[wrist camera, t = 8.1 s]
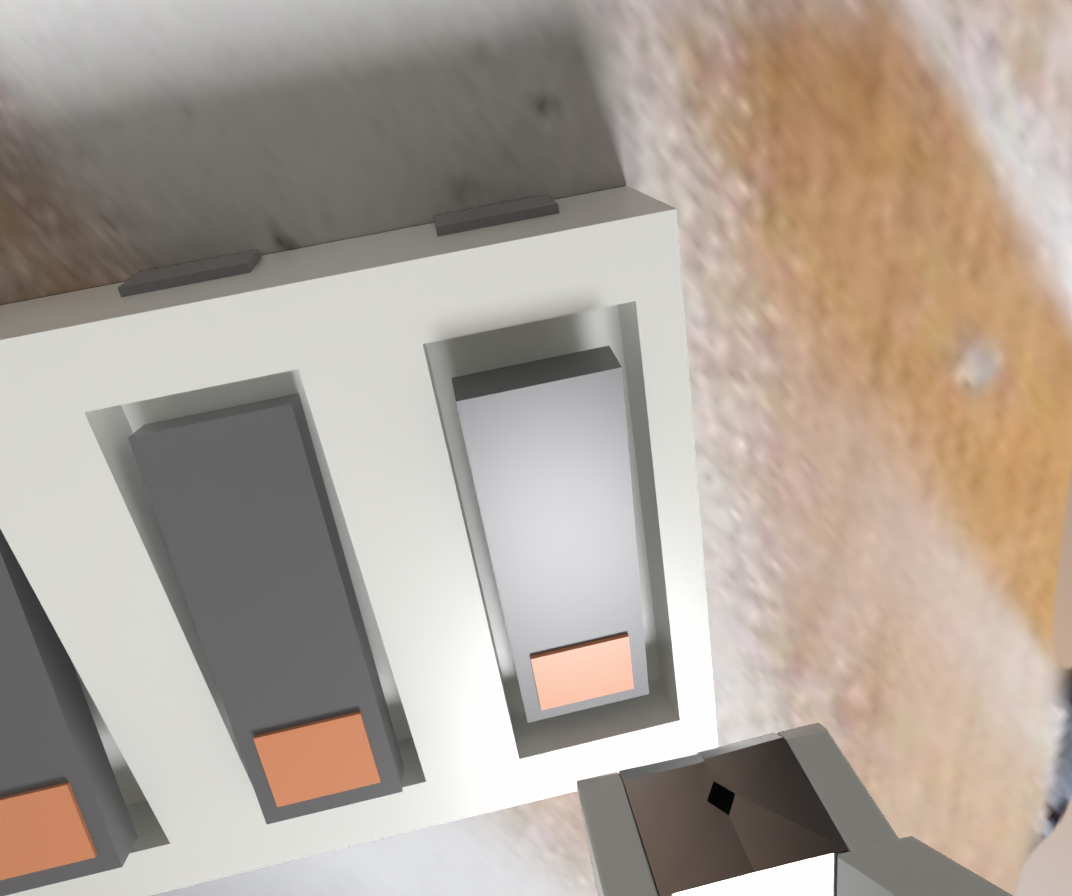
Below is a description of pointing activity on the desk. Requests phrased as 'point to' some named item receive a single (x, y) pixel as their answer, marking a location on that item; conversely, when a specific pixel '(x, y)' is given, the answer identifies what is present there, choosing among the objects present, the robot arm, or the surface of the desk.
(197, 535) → the middle rocker
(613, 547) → the rocker
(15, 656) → the rocker
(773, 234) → the desk surface
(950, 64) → the desk surface
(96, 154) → the desk surface
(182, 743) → the switch strip
